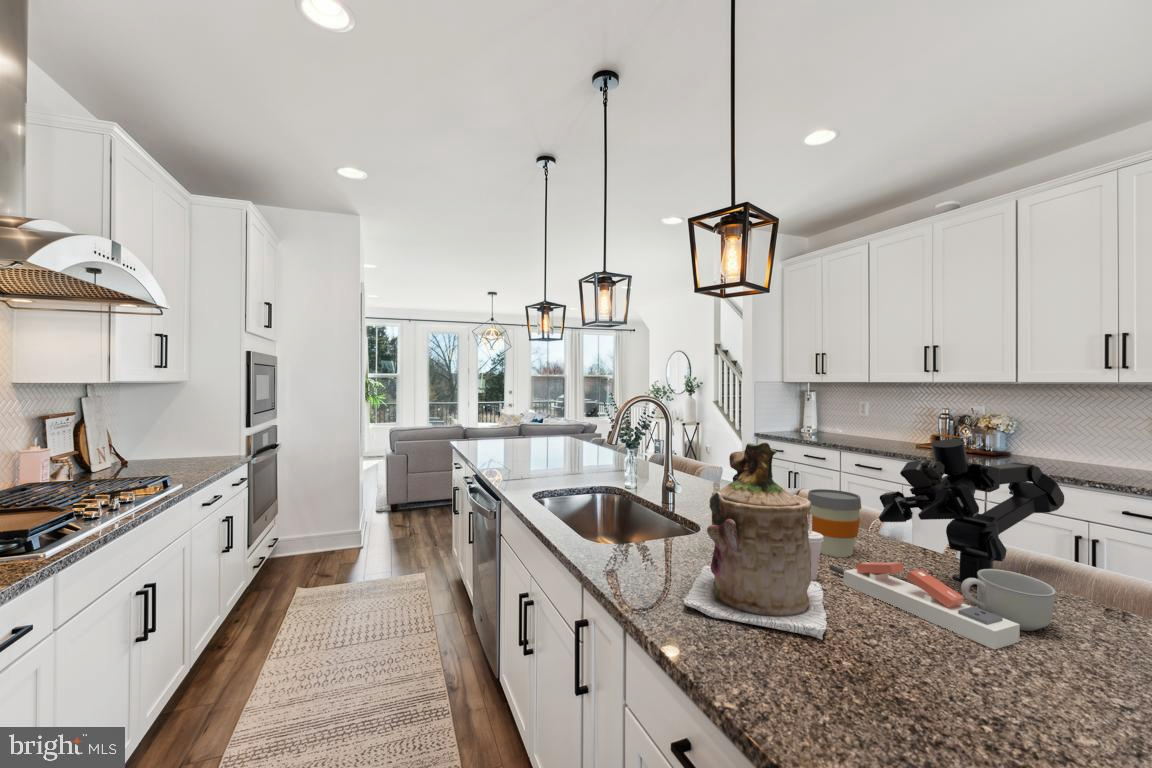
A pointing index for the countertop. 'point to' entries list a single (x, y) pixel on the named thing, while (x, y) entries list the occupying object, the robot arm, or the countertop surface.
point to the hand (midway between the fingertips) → (899, 518)
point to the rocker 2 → (935, 588)
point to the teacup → (1013, 597)
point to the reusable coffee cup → (835, 520)
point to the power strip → (934, 608)
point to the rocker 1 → (879, 567)
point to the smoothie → (814, 549)
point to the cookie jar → (759, 553)
